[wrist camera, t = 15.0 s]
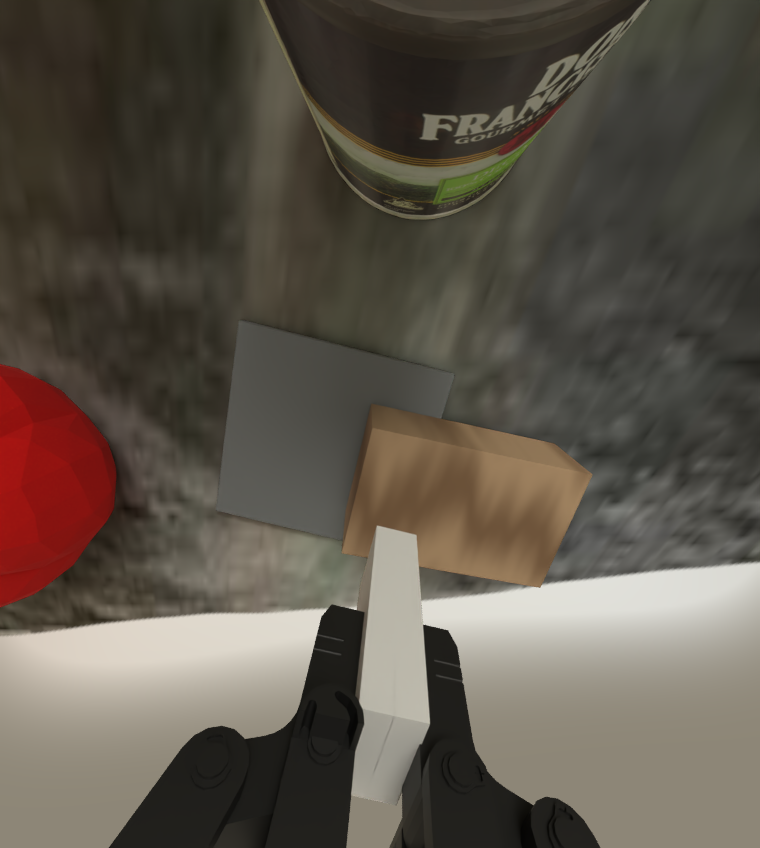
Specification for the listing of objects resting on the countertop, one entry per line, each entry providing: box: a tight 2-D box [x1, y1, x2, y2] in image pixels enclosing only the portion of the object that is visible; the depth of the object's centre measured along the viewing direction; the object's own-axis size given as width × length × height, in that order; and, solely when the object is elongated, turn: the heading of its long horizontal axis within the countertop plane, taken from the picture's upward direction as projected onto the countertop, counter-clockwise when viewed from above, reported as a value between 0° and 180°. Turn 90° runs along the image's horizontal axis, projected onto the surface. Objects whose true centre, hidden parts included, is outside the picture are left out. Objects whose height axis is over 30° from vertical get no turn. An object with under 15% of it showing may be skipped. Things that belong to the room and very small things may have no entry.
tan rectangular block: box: [342, 404, 592, 588], centre depth 21 cm, size 7×4×11 cm
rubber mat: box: [216, 320, 455, 541], centre depth 23 cm, size 12×12×1 cm
